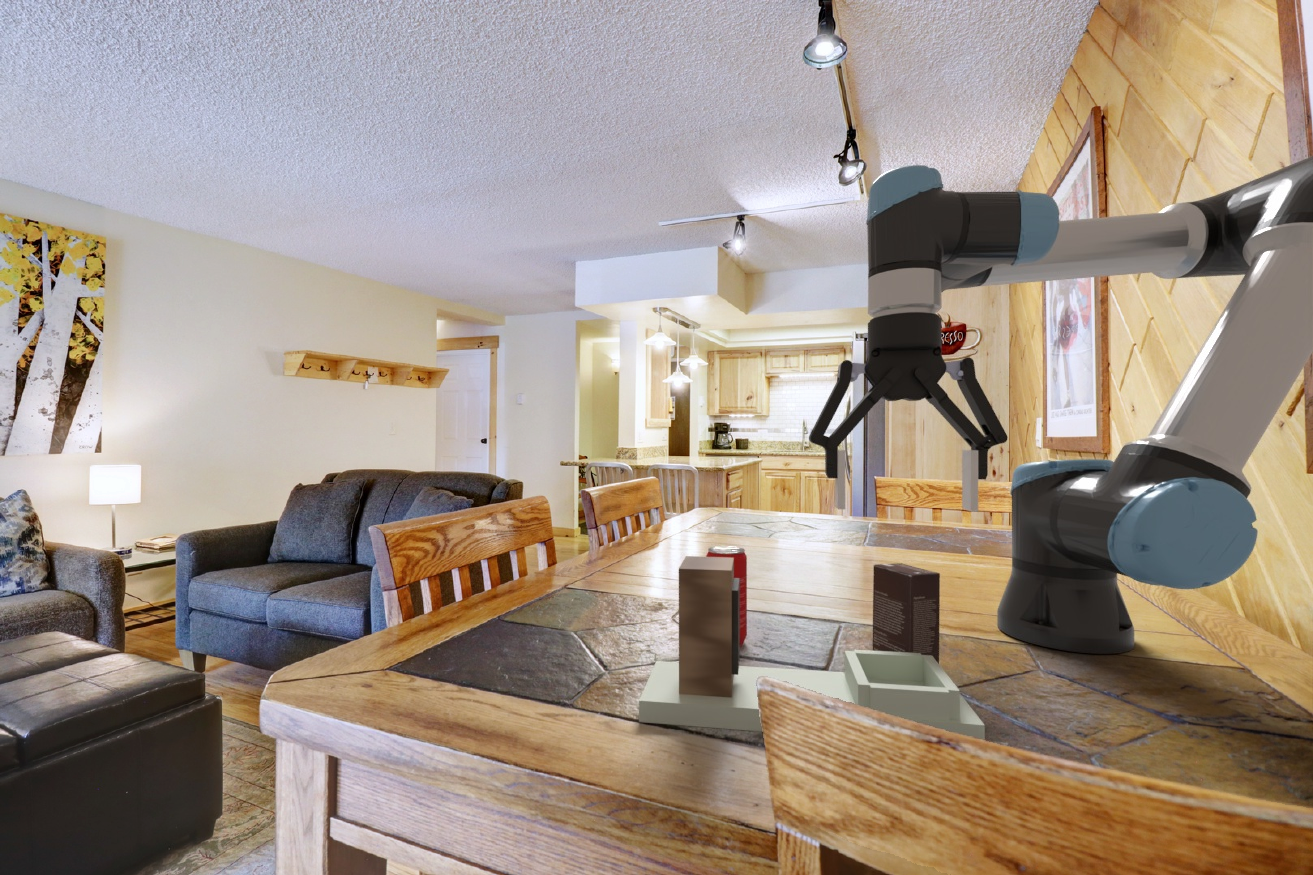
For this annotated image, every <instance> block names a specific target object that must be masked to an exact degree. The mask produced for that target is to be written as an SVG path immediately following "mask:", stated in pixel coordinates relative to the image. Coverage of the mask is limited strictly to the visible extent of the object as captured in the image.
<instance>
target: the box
mask: <svg viewBox="0 0 1313 875" xmlns="http://www.w3.org/2000/svg"><path fill="white" fill-rule="evenodd" d="M872 569H873V570H872V571H873V576H872V578H873V581H872V582H873V585H872V587H873V590H872V591H873V592H872V651H889V652H908V653H920V654H921V655H932V656H933V657H934V659H935V660H936V661H937V662H938V664H939V665H940V607H941V606H940V605H941V604H940V597H941V594H940V592H941V591H940V588H941V587H940V584H941V583H940V582H941V580H940V579H941V574H940V573H939V572H936V571H931V570H927V569H924V568H919V567H917V566H914V565H913V566H912V565H908V564H904V563H879V564H877V563H876V564H873V568H872Z"/></svg>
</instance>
